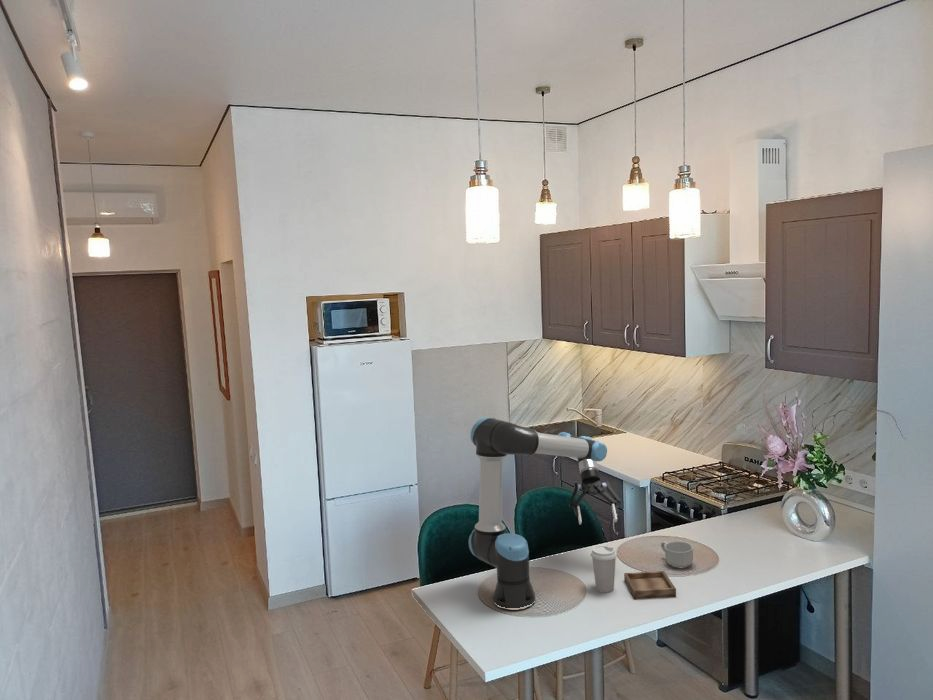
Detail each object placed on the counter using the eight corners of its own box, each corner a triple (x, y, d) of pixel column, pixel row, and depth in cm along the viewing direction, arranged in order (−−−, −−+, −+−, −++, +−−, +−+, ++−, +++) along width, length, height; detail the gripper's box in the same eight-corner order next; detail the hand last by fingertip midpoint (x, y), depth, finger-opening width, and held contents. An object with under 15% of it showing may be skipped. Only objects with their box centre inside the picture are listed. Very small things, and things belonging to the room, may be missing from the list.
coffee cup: (618, 595, 251) (617, 555, 249) (591, 593, 253) (590, 554, 251) (618, 583, 260) (616, 544, 259) (592, 582, 262) (590, 544, 261)
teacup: (699, 567, 270) (699, 547, 269) (676, 573, 266) (676, 553, 265) (676, 554, 283) (675, 535, 282) (654, 560, 279) (653, 541, 278)
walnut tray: (634, 599, 247) (633, 591, 247) (624, 580, 262) (624, 573, 262) (676, 596, 247) (675, 588, 247) (664, 578, 262) (663, 570, 262)
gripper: (619, 475, 282) (629, 524, 269) (557, 479, 282) (565, 528, 269) (621, 466, 276) (632, 515, 263) (559, 470, 276) (566, 519, 263)
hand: (598, 522), depth 266 cm, fingers open, 13 cm apart
